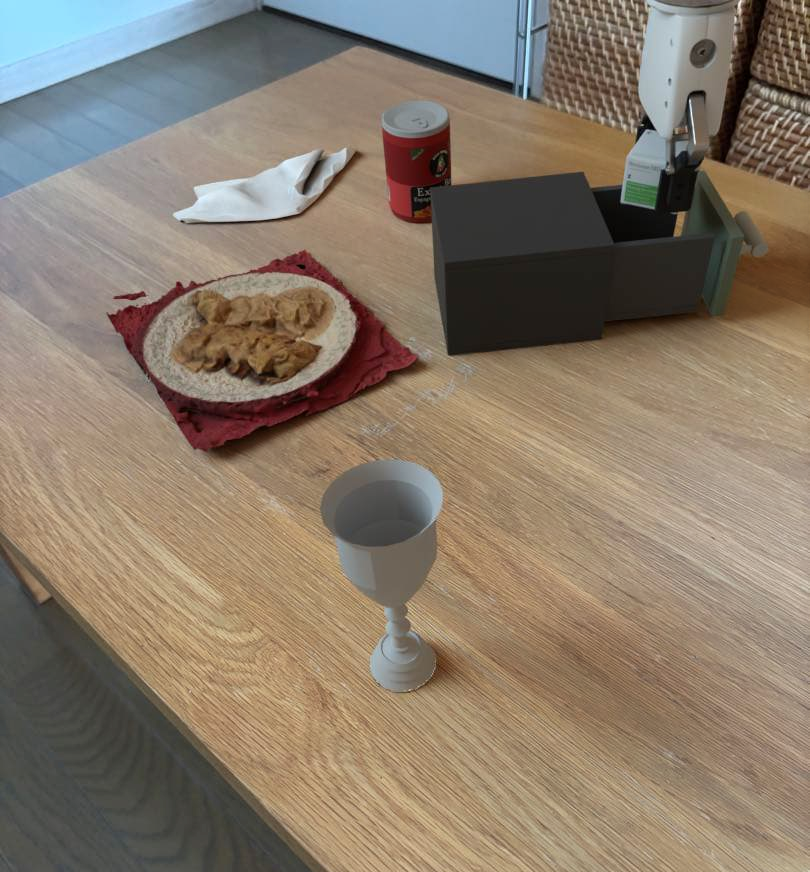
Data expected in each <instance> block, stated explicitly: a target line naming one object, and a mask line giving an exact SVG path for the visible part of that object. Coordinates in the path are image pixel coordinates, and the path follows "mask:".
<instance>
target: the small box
mask: <svg viewBox="0 0 810 872" xmlns="http://www.w3.org/2000/svg"><path fill="white" fill-rule="evenodd" d="M687 145H688V141H683V142H676V157H677V156H678V154H679V153H680V152H681V151H686V147H687ZM665 164H666V140H665V139H663V138H662V137H661V136H660V135H659V133H658V132H657V131H654V130H648V129H646V130H645V132H644V133H643V134H642V136H641V137H640V139H639V140H638V142H637V143H636V144H635V143H634V145H633V146H632V148H631V150H630V151H629V153H628V154H627V156H626V159H625V166H624V174H623V181H622V185H623V187H622V194H621V203H622V204H629V205H634V206H639V207H645V208H649V209H654V210H655V203H656V197H657V191H658V185H659V179H660V173H661V170H663V169H666V168H665ZM697 176H698V174H697ZM696 181H697V179H696ZM695 187H696V185H695ZM672 214H678V215H679V212H674V213H672Z"/></svg>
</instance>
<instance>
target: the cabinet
mask: <svg viewBox="0 0 810 872" xmlns="http://www.w3.org/2000/svg"><path fill="white" fill-rule="evenodd" d="M591 188H592V187H591V186H590V183H589V182H588V178H587V177H586V174H585V172H584V171H576V172H575V171H574V172H566V173H565V172H564V173H557V174H548V175H537V176H536V175H535V176H527V177H519V178H507V179H500V180H498V179H497V180H490V181H479V182H471V183H470V182H469V183H460V184H451V185H450V186H441V187H431V188H430V194H431V214H432V221H431V232H432V234H431V235H432V251H433V253H432V254H433V273H434V275H433V276H434V282H435V283H434V284H435V289H436V295H437V300H438V305H439V306H438V307H439V312H440V318H441V324H442V331H443V335H444V341H445V347H446V352H447V356H455V355H463V354H473V353H483V352H493V351H502V350H503V351H504V350H512V349H513V350H514V349H521V348H522V349H523V348H531V347H542V346H549V345H551V346H552V345H559V344H569V343H578V342H579V343H580V342H589V341H599V340H602V339H603V336H604V335H603V334H604V328H605V327H604V326H605V322H606V321H605V313H606V305H607V298H608V290H609V283H610V275H611V268H612V260H613V252H614V246H615V245H614V242H613V240H612V238H611V235H610V233H609V231H608V228H607V226H606V224H605V221H604V219H603V216H602V214H601V212H600V209H599V207H598V205H597V202H596V200H595V198H594V195H593V193H592V190H591Z"/></svg>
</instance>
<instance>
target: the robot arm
mask: <svg viewBox="0 0 810 872" xmlns="http://www.w3.org/2000/svg"><path fill="white" fill-rule="evenodd" d="M644 2H645V3H646V4H647V5H648V6H649V12H648V18H647V22H646V23H647V24H646V28H645V33H644V38H643V39H644V40H643V45H642V51H641V52H642V53H641V59H640V67H639V74H638V75H639V76H638V91H637V92H638V98H639V101H640V103H641V106H640V109H639V111H638V115H637V120H638V121H637V122H638V126H637V127H636V134H635V141H634V145H635V144H636V143H637V142H638V140H639V139H640V137H641V136H642V134H643V133H644V132H645V130H646V129H648V130H654V131H657V132H658V133H659V135H660V136H661V137H662V138H663V139H665V140H666V164H665V168H666V169H663V170H661V173H660V179H659V185H658V191H657V197H656V203H655V211H656V213H657V214H665V213H674V212H678V213H683V212H684V213H685V212H686V211H688V210H689V209H690V208H691V205H692V200H693V195H694V190H695V185H696V179H697V174H698V172H699V171H701V166H702V164H703V162H704V160H705V156H706V154H707V153H708V152H709V149H710V138H714V137H716V135H717V134H718V133H719V131H720V127H721V122H722V117H723V112H724V106H725V100H726V94H727V89H728V81H729V75H730V69H731V62H732V56H733V55H732V54H733V46H734V34H735V22H736V21H735V20H736V9H735V7H736V6H737V5H738V4H739V3H740V2H741V0H644ZM679 127H686V130H687V132H680V133H675V129H678V128H679ZM683 141H688V145H687V147H686V151H681V152H680V153H679V154H678V156H677V157H676V142H683Z"/></svg>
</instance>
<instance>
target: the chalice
mask: <svg viewBox="0 0 810 872" xmlns="http://www.w3.org/2000/svg"><path fill="white" fill-rule="evenodd" d="M443 499H444V491H443V489H442V486H441V484H440V481H439V479H438V478H437V477H436V476H435V475H434V474H433V473H432V472H431V471H430V470H429V469H427V468H425V467H424V466H422V465H419V464H417V463H415V462H413V461H409V460H408V461H407V460H403V459H397V458H392V459H375V460H371V461H367V462H364V463H359V464H357V465H356V466H353V467H351V468H349V469H347V470H345V471H344V472H342V473H341V474H339V476H337V477H336V478H335V479H334V480H332V481H331V482H330V484H329V485H328V487H327V488H326V490H325V491H324V492H323V494H322V497H321V501H320V502H321V503H320V506H319V511H320V516H321V520H322V524H323V525H324V526H325V527H326V528H327V529H328V531H329V532H330V533H331V534H332V536H334V540H335V545H336V550H337V555H338V559H339V563H340V568H341V571H342V572H343V574H344V575H345V576H346V577H347V579H348V580H349V581H350V582H351V583H352V584H353V585H354V586H355V588H356V589H357V590H358V591H359V592H360V593H361V594H363V595H364V596H365V597H367V598H369V599H370V600H372V601H373V602H375V603H376V604H378V605H380V606H381V607H384V609H383V610H384V611H383V614H384V616H385V618H386V619H387V622H386V623H385V627H384V628H385V629H384V630H385V634H384V635H383V636H382V637H381V638H380V639H379V641H378V642H377V643H376V646H375V648H373V650H374V651H373V650H372V652H373V653H372V652H371V654H372V655H371V654H370V656H371V657H370V656H369V661H370V666H369V665H368V668H369V667H370V669H371V670H370V669H369V672H370V671H371V673H372V676H373V677H374V679H376V682H377V683H380V685H381V686H383V687H385V688H386V689H390V690H392V691H398V692H402V691H404V690H409V689H416V688H417V687H418V686H419V685H422V684H423V683H426V680H428V679H429V678H430V677H431V675H432V673H433V670H434V668H435V663H436V662H435V661H436V660H435V659H436V658H437V657H436V658H435V655H436V653H435V654H434V652H435V649H434V648H433V647H432V646H431V644H430V643H429V642H428V641H427V640H425V638H424V637H422V636H421V635H420V634H419V633H418V632H416V631H414V630H412V629H411V628H412V624H411V621H410V620H409V619H408V618H407V615H408V614H409V608H408V605H406V604H407V603H409V601H411V600H412V598H413V597H414V596H415V595H416V594H417V593H418V591H419V590H420V589H421V587H422V586H423V585H424V583H425V582H426V580H427V579H428V576H429V574H430V573H431V570H432V568H433V566H434V564H435V562H436V560H437V555H438V535H437V517H438V515H439V514H440V512H441V510H442V508H443V502H444V500H443ZM427 642H428V643H429V644H430V645H429V644H428V643H427ZM431 647H432V648H433V649H434V650H433V649H432V648H431ZM371 673H370V674H371ZM372 676H371V677H372ZM374 679H373V680H374ZM376 682H375V683H376ZM377 683H376V684H377ZM380 685H379V686H380ZM381 686H380V687H381ZM392 691H391V692H392Z"/></svg>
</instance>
